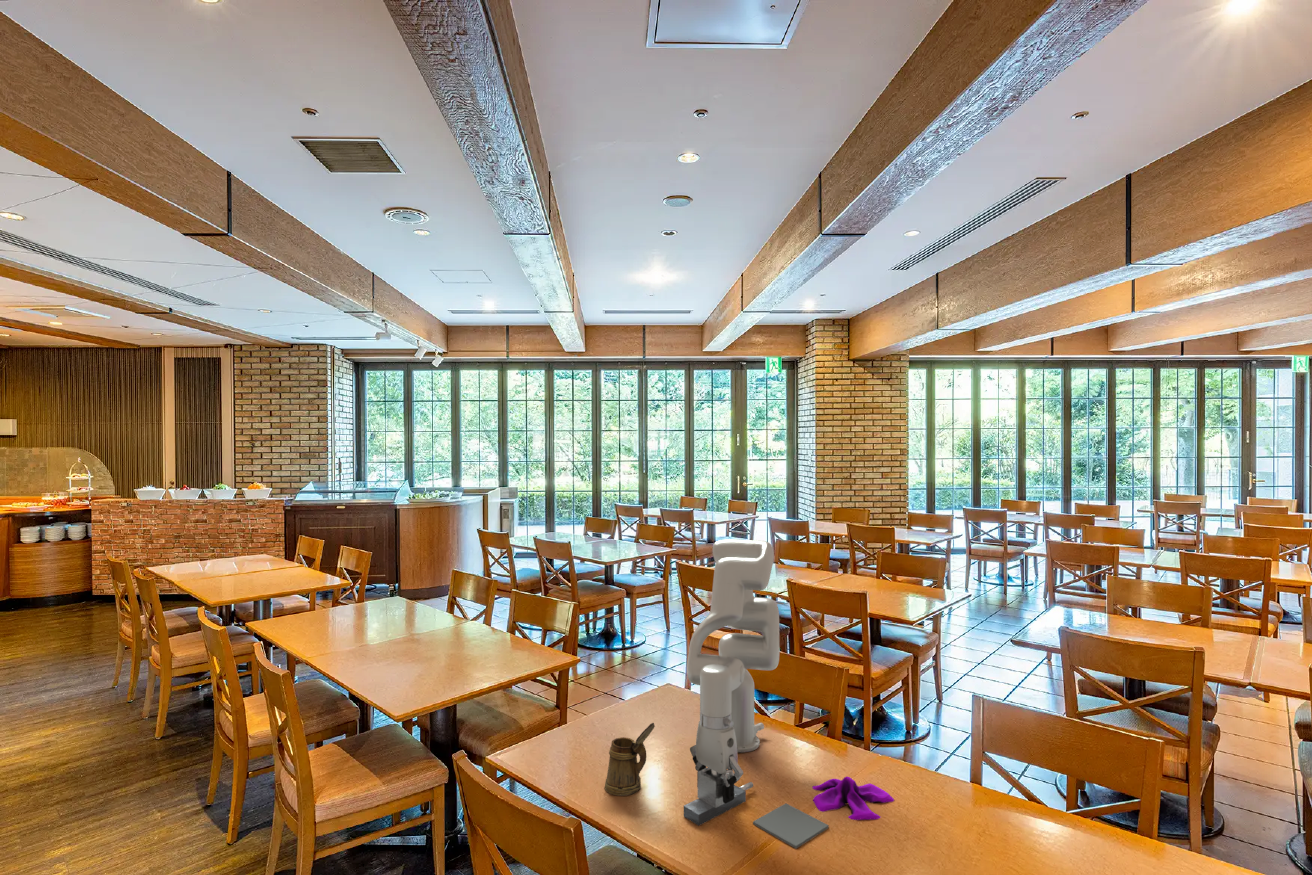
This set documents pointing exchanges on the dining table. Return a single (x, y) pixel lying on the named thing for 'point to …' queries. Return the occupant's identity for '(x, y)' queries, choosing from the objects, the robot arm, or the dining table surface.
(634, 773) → the wooden mug
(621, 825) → the dining table surface
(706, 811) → the block
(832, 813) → the dining table surface
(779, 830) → the slate pad
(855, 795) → the cloth
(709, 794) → the steel collar
